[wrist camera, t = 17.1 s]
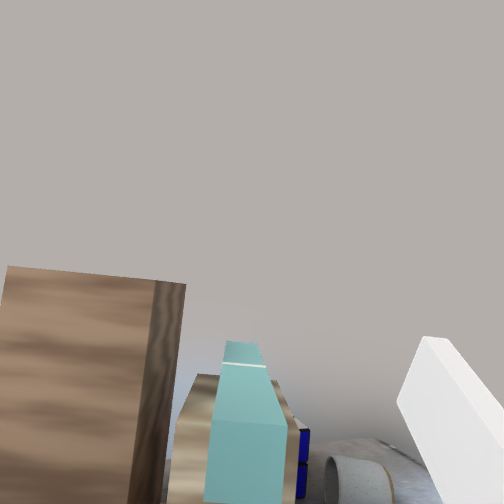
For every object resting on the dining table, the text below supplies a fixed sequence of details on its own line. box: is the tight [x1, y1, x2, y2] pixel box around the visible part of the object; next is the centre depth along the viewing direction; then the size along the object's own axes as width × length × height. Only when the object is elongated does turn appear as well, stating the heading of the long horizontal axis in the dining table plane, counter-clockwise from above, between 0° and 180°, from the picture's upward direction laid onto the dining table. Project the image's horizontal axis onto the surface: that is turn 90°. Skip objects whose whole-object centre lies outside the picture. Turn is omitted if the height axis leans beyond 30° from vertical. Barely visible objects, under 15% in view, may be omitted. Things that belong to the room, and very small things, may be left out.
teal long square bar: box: [203, 341, 288, 504], centre depth 32 cm, size 28×4×4 cm, turn 3°
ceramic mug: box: [323, 455, 394, 504], centre depth 51 cm, size 11×8×8 cm
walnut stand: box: [0, 266, 186, 504], centre depth 36 cm, size 20×14×30 cm
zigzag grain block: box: [166, 374, 300, 504], centre depth 34 cm, size 16×10×19 cm, turn 3°
